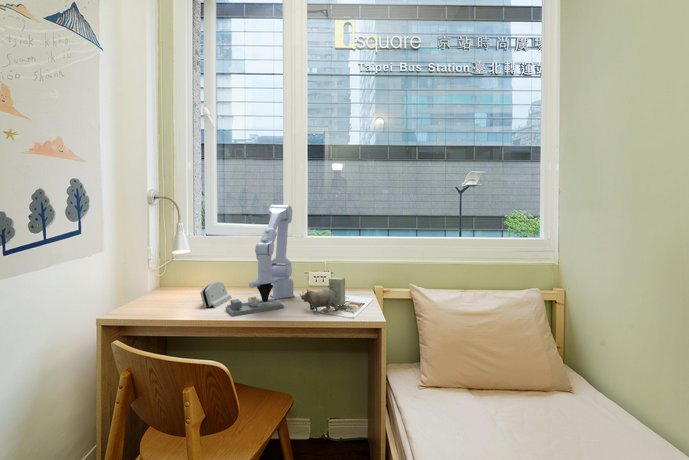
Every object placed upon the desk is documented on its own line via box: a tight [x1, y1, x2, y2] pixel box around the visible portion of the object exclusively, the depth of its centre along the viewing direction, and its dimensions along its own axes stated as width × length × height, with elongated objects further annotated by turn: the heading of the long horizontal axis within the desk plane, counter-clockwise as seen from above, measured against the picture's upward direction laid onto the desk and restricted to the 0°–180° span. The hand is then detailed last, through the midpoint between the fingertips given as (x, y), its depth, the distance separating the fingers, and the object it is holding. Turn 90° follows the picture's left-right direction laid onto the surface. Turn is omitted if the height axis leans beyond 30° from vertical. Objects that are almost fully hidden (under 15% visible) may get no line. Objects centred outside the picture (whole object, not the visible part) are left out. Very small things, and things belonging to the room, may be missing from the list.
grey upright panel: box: [200, 281, 233, 309], centre depth 167 cm, size 17×5×10 cm, turn 172°
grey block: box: [247, 296, 260, 306], centre depth 157 cm, size 3×5×4 cm, turn 34°
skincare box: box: [328, 276, 346, 307], centre depth 165 cm, size 6×4×12 cm
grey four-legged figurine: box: [299, 288, 338, 315], centre depth 156 cm, size 8×14×15 cm
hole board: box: [225, 297, 284, 317], centre depth 157 cm, size 22×9×5 cm, turn 124°
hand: (264, 301), depth 160 cm, fingers closed
